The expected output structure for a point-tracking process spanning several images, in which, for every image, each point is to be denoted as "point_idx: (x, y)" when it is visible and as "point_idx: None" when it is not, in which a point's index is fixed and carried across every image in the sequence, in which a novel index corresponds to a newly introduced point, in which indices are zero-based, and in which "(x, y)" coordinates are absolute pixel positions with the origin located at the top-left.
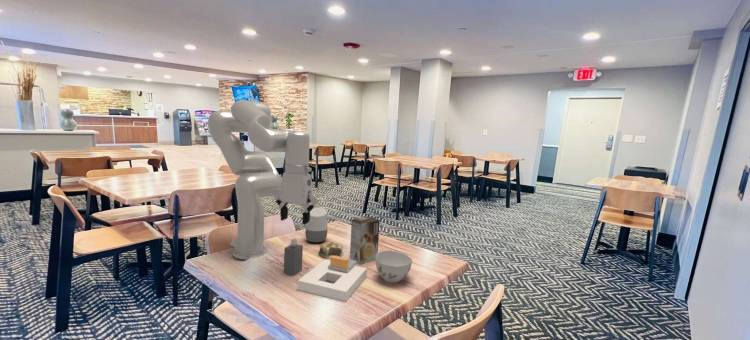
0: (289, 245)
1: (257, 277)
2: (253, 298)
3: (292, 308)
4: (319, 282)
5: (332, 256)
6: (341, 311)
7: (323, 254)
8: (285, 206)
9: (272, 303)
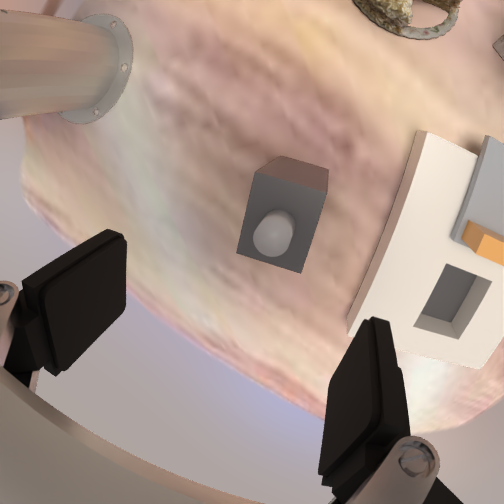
0: (248, 211)
1: (194, 253)
2: (242, 359)
3: None
4: (417, 338)
5: (484, 245)
6: (454, 384)
7: (385, 19)
8: (29, 342)
9: (296, 375)
